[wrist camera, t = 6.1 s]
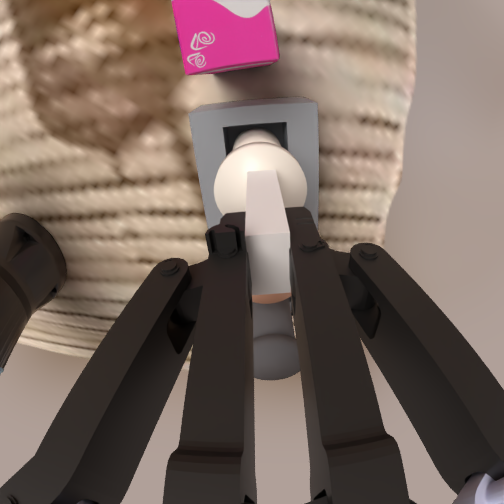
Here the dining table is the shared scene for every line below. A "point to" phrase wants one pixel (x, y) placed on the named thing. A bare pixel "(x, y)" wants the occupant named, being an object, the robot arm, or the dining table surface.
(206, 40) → the supplement box
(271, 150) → the cream plug
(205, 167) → the socket block
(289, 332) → the black plug
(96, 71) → the dining table surface
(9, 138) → the dining table surface
